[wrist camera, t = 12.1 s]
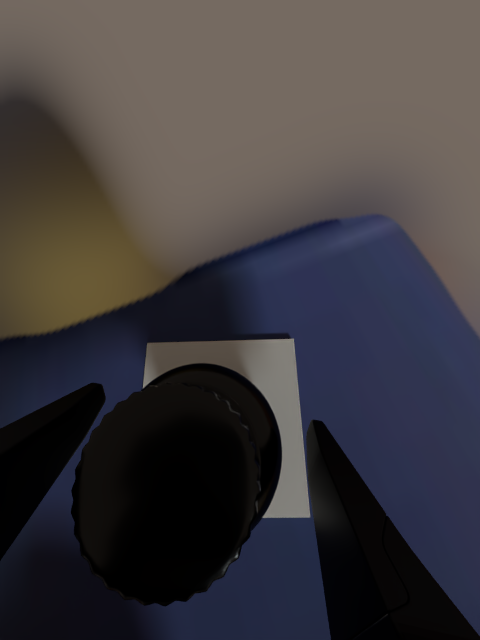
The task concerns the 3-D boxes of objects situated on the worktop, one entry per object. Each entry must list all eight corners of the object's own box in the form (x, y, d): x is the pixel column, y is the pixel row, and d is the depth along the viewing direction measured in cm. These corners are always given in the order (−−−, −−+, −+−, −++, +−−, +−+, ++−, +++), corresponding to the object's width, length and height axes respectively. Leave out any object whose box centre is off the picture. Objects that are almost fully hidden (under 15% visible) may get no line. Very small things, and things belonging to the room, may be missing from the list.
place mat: (307, 512, 16) (310, 517, 15) (134, 514, 16) (129, 519, 16) (292, 340, 19) (293, 338, 19) (150, 344, 20) (147, 343, 19)
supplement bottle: (283, 405, 17) (355, 434, 6) (237, 497, 16) (208, 788, 4) (207, 359, 19) (141, 306, 7) (156, 440, 17) (-38, 544, 5)
